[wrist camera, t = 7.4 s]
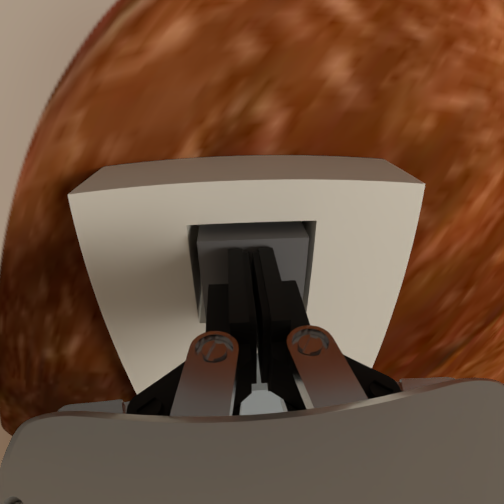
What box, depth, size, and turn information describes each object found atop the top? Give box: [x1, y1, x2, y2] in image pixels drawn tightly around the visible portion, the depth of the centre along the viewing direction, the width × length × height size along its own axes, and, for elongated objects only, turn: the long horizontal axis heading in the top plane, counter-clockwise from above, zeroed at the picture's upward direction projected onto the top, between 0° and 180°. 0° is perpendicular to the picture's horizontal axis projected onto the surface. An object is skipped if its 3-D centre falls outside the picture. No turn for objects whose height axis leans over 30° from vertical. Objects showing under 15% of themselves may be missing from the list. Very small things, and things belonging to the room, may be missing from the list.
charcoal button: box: [197, 221, 309, 316], centre depth 13 cm, size 4×4×3 cm
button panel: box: [68, 155, 425, 394], centre depth 18 cm, size 14×22×4 cm, turn 0°
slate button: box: [241, 353, 284, 415], centre depth 16 cm, size 4×4×3 cm
